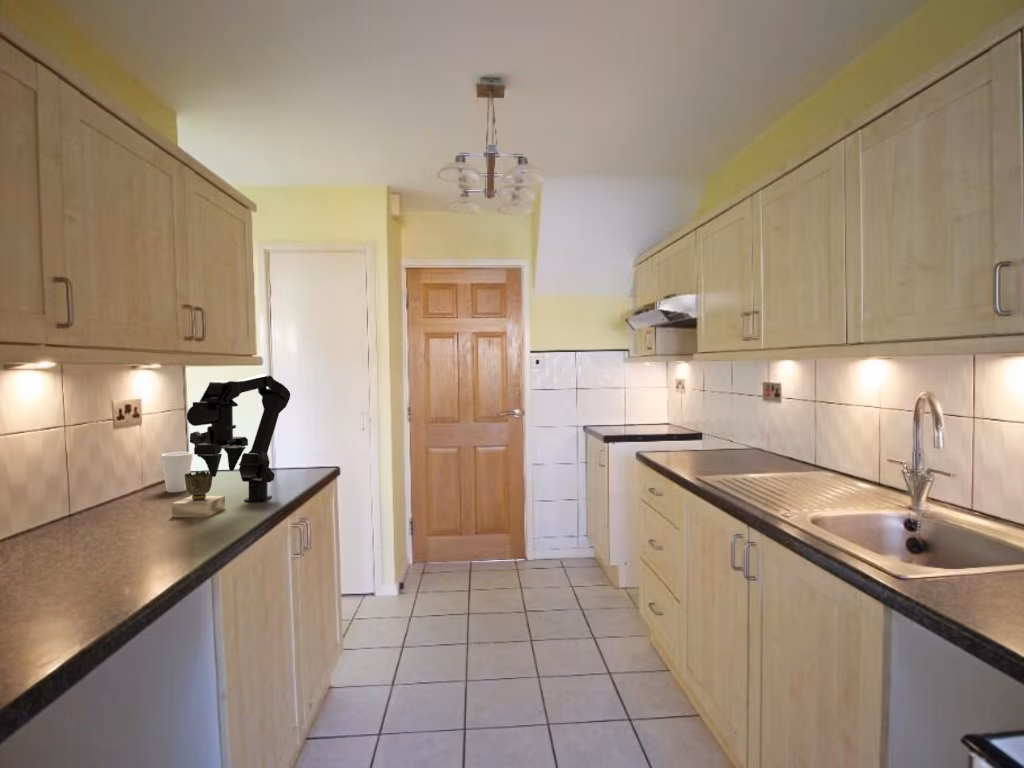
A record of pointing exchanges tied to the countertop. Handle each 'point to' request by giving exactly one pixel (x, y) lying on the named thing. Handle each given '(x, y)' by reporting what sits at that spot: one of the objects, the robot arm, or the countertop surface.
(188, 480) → the cup
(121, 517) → the countertop surface
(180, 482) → the foam cup
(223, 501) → the pedestal
